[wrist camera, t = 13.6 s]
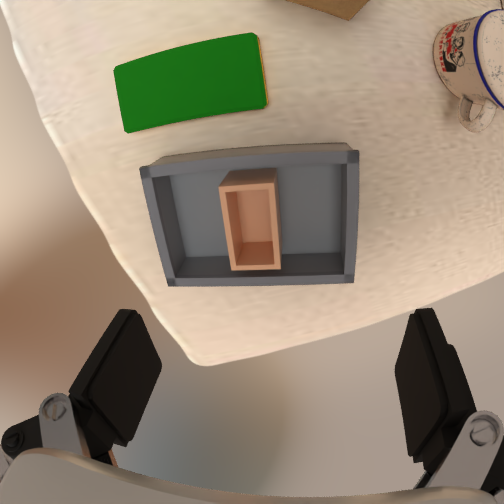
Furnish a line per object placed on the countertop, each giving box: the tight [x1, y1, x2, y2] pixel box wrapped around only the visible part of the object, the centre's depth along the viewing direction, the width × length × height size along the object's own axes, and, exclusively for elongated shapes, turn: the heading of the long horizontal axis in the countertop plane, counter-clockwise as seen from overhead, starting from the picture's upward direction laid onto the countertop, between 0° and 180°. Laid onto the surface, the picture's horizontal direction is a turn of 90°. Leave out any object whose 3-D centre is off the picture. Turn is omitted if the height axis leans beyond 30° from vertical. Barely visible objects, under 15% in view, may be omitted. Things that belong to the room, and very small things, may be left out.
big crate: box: [139, 143, 359, 286], centre depth 29 cm, size 18×12×5 cm
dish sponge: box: [113, 33, 268, 133], centre depth 25 cm, size 7×14×2 cm, turn 98°
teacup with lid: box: [434, 9, 504, 133], centre depth 17 cm, size 12×9×12 cm
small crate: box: [218, 168, 282, 271], centre depth 29 cm, size 4×8×5 cm, turn 6°
